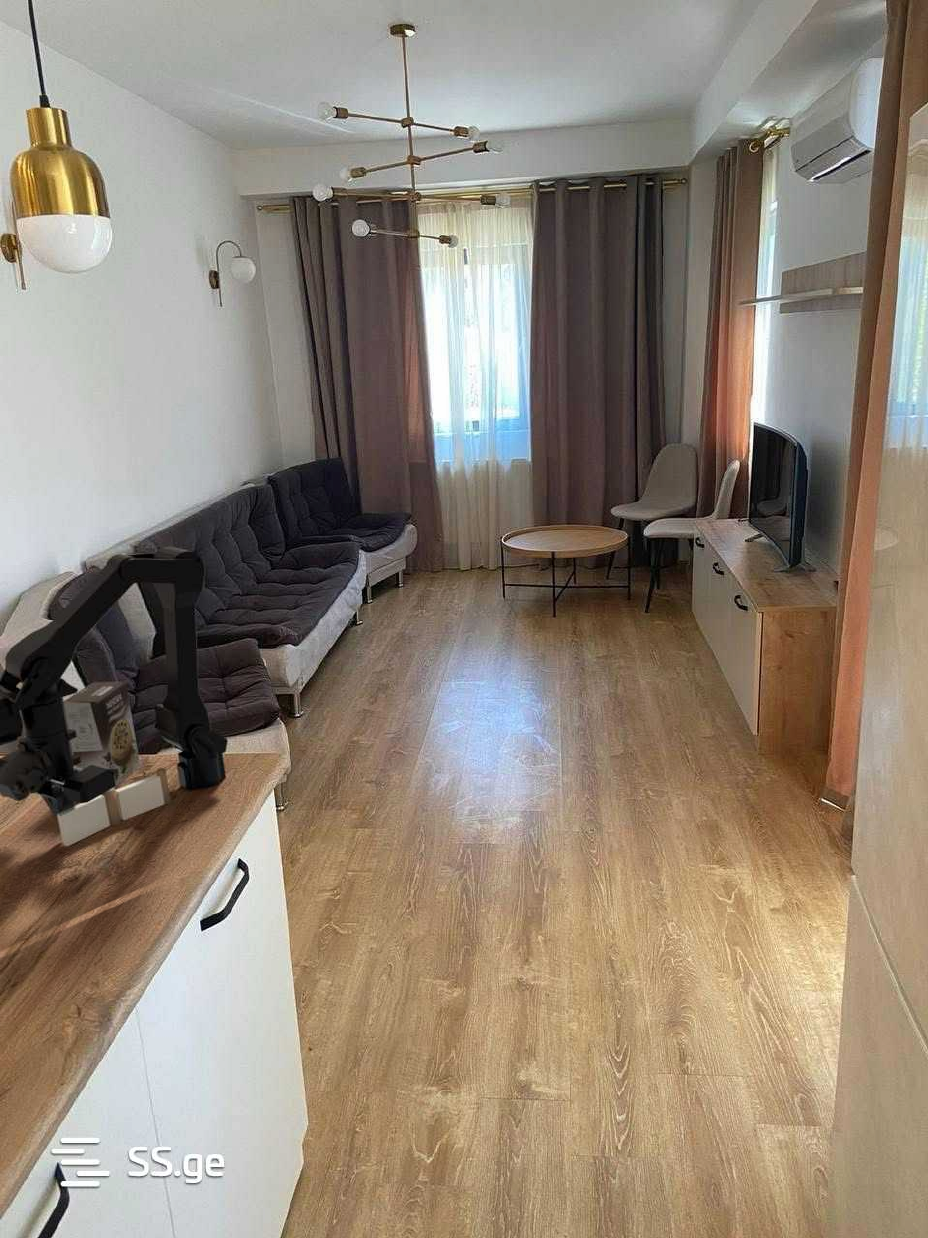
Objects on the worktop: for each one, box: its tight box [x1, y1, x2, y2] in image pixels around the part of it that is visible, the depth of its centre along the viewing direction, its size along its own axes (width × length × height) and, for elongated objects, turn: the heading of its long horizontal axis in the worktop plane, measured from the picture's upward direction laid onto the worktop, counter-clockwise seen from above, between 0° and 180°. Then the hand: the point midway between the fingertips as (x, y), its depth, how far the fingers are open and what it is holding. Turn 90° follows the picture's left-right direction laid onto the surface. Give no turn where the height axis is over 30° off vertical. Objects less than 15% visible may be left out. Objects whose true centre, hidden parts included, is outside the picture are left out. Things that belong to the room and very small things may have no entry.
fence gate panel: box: [57, 794, 111, 847], centre depth 135 cm, size 7×1×5 cm, turn 143°
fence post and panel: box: [102, 767, 172, 826], centre depth 141 cm, size 10×2×6 cm, turn 133°
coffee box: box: [63, 681, 141, 788], centre depth 152 cm, size 9×6×16 cm
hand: (64, 825), depth 135 cm, fingers closed
